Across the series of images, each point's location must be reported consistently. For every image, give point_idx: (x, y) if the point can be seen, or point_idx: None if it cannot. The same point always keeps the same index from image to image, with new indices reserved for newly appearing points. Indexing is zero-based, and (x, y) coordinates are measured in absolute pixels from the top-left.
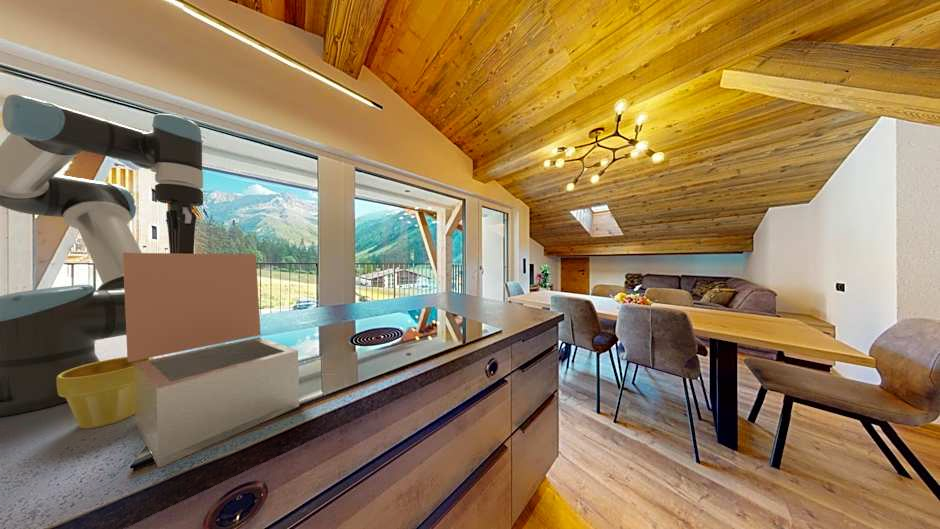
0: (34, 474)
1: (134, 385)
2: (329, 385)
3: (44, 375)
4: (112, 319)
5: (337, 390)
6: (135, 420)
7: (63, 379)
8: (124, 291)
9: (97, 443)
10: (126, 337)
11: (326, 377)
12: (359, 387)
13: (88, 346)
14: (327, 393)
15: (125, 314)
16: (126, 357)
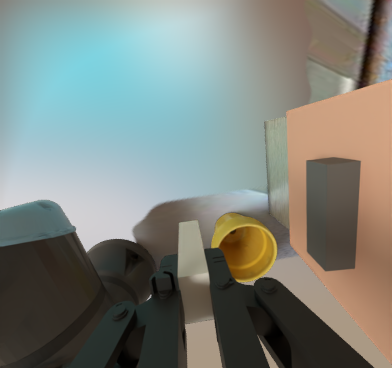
0: (293, 249)
1: (287, 228)
2: (341, 64)
3: (144, 291)
4: (100, 291)
5: (361, 64)
6: (271, 214)
7: (261, 276)
8: (351, 315)
9: (278, 229)
10: (304, 261)
11: (315, 54)
12: (379, 41)
13: (113, 283)
14: (358, 76)
15: (323, 283)
16: (219, 244)
